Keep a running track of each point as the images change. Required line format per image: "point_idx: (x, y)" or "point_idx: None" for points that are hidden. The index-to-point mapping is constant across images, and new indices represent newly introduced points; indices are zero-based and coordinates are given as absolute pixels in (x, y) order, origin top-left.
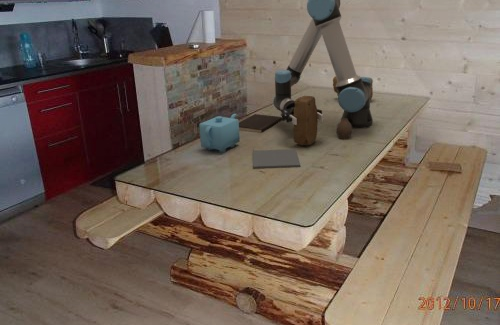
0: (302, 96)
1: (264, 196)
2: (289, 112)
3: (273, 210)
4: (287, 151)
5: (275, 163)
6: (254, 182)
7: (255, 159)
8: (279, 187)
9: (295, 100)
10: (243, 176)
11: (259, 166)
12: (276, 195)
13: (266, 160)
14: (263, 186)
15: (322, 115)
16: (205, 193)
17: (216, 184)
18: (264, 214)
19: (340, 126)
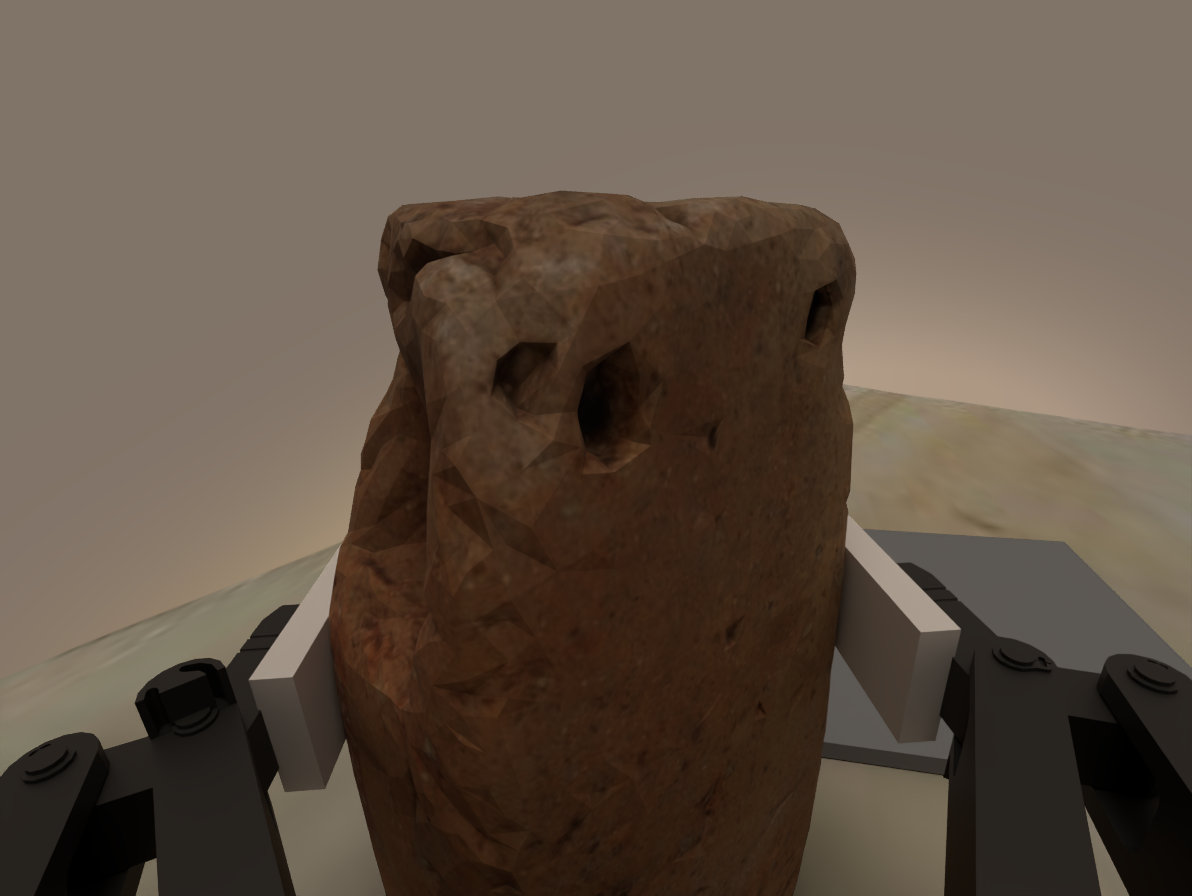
0: (630, 198)
1: (898, 424)
2: (1060, 891)
3: (853, 395)
4: (863, 697)
5: (921, 551)
6: (976, 470)
7: (1118, 615)
8: (853, 445)
9: (839, 229)
10: (1068, 505)
11: (1019, 539)
12: (856, 424)
13: (1007, 590)
14: (921, 452)
15: None
16: (1155, 444)
17: (1166, 475)
18: (875, 390)
19: None
